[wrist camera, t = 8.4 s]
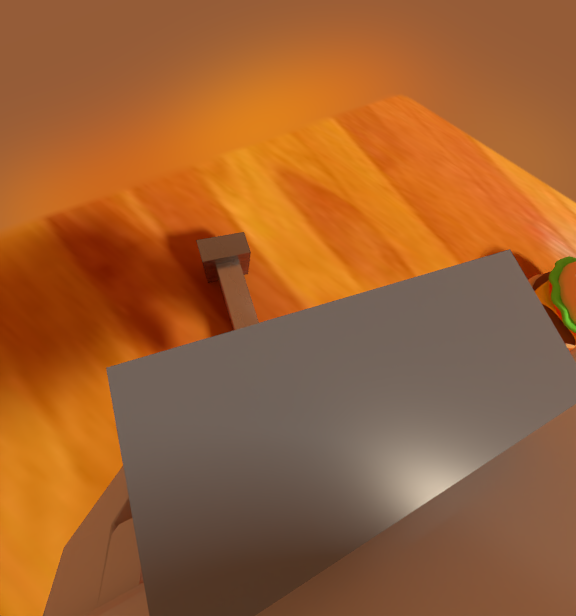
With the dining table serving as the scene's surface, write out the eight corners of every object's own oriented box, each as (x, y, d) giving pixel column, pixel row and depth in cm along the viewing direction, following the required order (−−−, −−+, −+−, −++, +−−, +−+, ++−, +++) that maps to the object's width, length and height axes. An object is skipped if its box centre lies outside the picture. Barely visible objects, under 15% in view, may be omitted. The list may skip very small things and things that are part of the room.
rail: (322, 505, 20) (346, 541, 16) (278, 530, 19) (291, 576, 14) (242, 256, 24) (243, 232, 20) (203, 264, 23) (196, 240, 19)
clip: (226, 415, 14) (159, 677, 2) (215, 373, 15) (105, 367, 2) (319, 378, 16) (593, 392, 4) (306, 342, 16) (509, 248, 4)
